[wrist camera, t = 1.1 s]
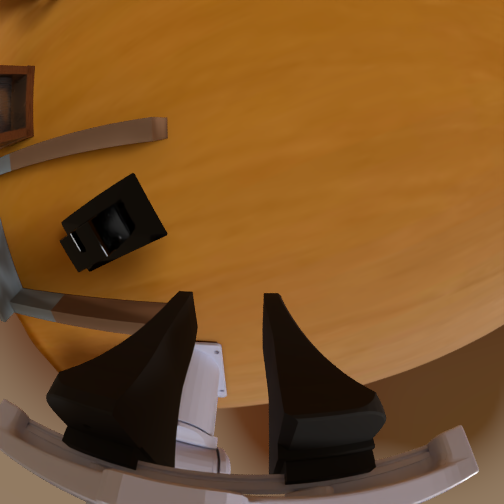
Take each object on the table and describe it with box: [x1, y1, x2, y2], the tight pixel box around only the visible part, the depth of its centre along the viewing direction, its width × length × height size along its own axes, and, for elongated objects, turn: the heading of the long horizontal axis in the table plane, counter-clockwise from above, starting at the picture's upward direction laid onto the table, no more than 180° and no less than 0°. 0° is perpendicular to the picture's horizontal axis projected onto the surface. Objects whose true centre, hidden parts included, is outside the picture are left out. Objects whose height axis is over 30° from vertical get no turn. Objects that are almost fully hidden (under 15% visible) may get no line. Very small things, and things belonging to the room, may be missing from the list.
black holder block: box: [60, 173, 167, 272], centre depth 19 cm, size 12×7×5 cm, turn 113°
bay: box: [0, 117, 168, 335], centre depth 18 cm, size 17×23×5 cm
